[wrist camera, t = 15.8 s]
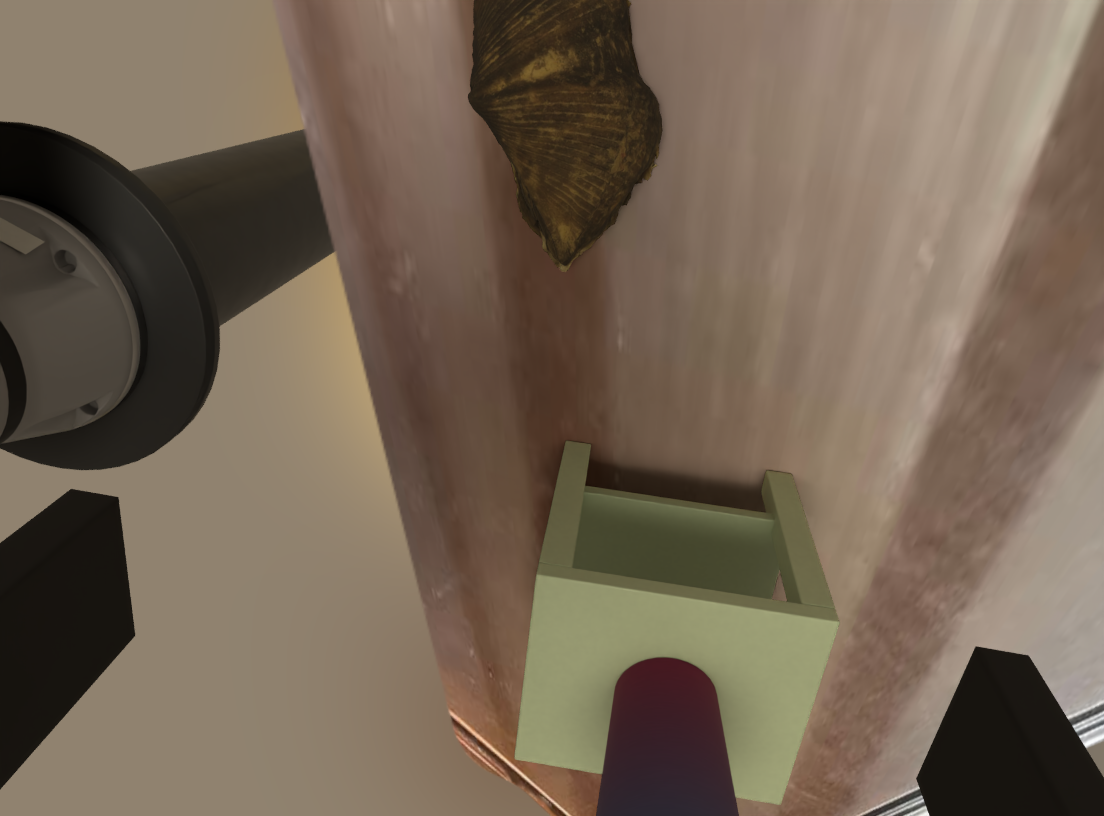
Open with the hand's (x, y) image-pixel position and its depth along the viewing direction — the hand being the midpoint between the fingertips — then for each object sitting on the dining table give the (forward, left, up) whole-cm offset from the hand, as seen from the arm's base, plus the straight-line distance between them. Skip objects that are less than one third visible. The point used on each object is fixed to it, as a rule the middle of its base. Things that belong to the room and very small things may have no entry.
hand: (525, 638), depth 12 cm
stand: (+6, -20, -35) cm, 41 cm away
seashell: (-3, +6, -35) cm, 36 cm away
